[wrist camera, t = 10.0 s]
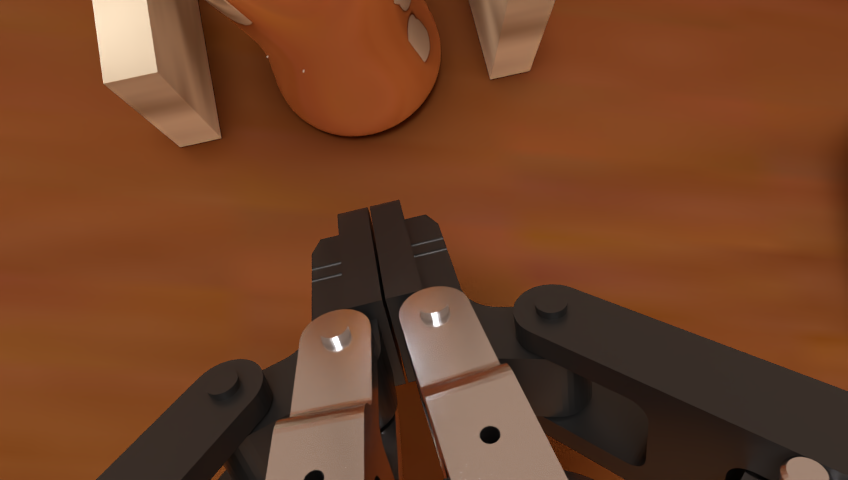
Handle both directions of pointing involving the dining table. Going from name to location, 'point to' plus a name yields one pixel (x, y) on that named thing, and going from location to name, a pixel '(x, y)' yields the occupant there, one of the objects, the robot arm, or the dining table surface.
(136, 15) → the bracket
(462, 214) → the dining table surface
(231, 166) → the dining table surface
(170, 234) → the dining table surface
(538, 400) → the robot arm
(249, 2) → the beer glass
